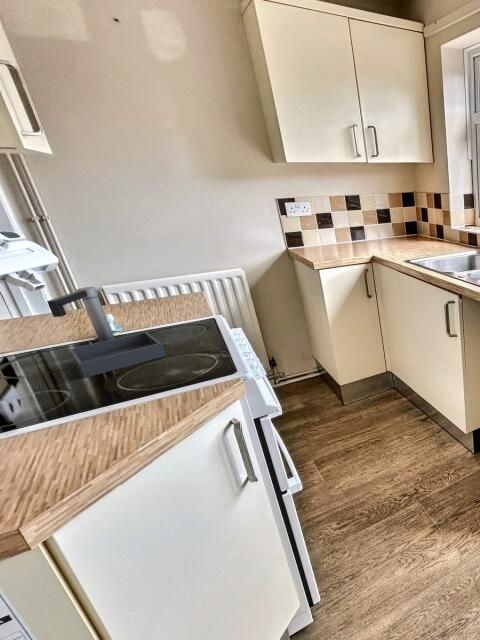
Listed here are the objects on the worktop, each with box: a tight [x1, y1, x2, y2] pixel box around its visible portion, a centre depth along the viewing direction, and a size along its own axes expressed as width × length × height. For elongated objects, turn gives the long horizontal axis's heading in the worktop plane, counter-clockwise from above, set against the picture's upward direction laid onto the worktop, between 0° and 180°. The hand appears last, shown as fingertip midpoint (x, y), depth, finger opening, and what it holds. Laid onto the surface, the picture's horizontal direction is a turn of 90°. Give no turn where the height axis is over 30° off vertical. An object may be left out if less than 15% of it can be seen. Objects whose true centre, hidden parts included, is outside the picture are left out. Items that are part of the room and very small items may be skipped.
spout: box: [46, 286, 99, 318], centre depth 103 cm, size 3×13×4 cm, turn 11°
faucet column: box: [81, 296, 116, 342], centre depth 110 cm, size 6×6×14 cm
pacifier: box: [94, 313, 123, 339], centre depth 120 cm, size 7×6×6 cm
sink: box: [68, 331, 167, 379], centre depth 105 cm, size 15×14×4 cm
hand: (39, 287), depth 100 cm, fingers closed
